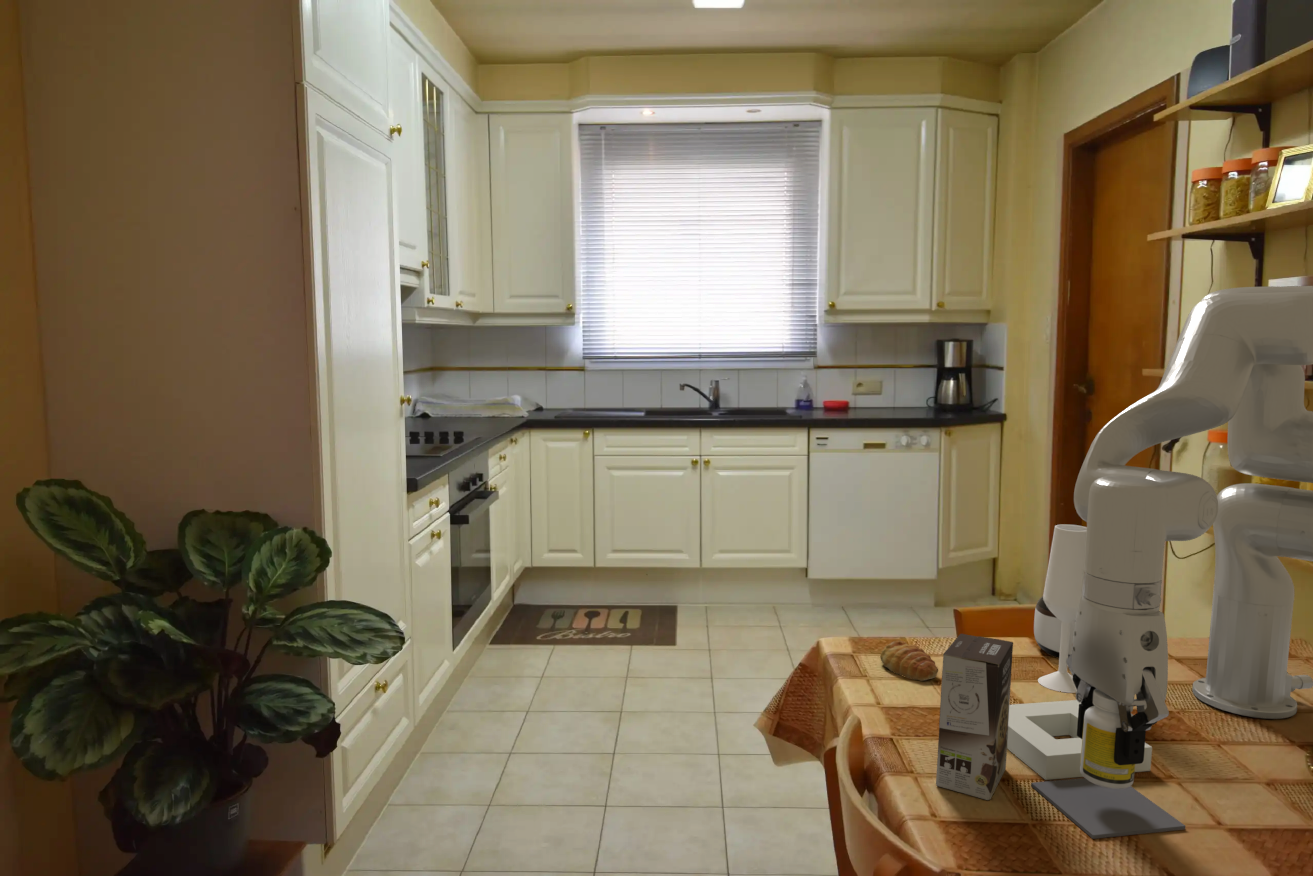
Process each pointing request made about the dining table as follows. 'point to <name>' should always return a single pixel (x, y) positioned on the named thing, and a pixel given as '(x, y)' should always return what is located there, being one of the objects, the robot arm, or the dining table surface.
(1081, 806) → the mat
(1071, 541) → the champagne flute
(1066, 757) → the socket block
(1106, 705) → the supplement bottle
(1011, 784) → the dining table surface
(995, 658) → the coffee box
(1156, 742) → the dining table surface
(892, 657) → the pastry
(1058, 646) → the spread jar
